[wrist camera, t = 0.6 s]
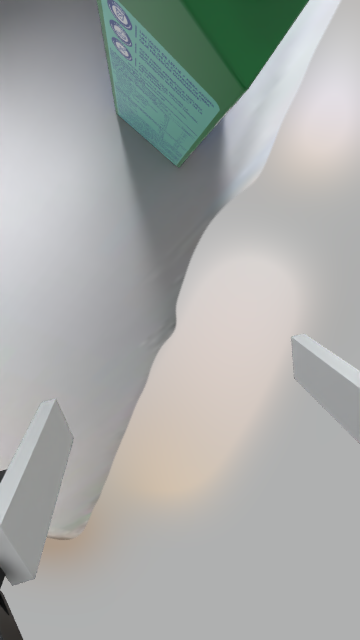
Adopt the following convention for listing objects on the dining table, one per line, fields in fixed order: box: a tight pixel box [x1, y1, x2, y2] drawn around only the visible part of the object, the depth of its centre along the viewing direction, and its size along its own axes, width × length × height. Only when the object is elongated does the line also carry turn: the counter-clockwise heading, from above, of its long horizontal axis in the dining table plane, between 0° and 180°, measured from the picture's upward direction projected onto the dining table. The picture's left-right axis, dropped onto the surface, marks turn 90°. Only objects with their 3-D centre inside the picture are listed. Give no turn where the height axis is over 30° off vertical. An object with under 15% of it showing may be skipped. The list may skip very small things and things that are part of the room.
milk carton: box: [97, 0, 309, 168], centre depth 21 cm, size 9×9×25 cm
